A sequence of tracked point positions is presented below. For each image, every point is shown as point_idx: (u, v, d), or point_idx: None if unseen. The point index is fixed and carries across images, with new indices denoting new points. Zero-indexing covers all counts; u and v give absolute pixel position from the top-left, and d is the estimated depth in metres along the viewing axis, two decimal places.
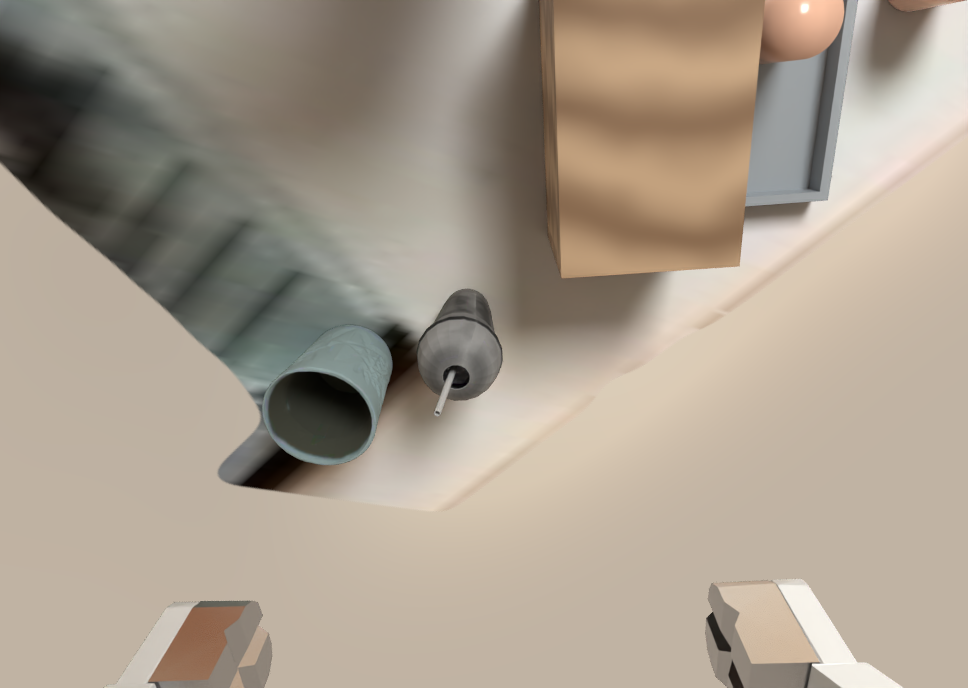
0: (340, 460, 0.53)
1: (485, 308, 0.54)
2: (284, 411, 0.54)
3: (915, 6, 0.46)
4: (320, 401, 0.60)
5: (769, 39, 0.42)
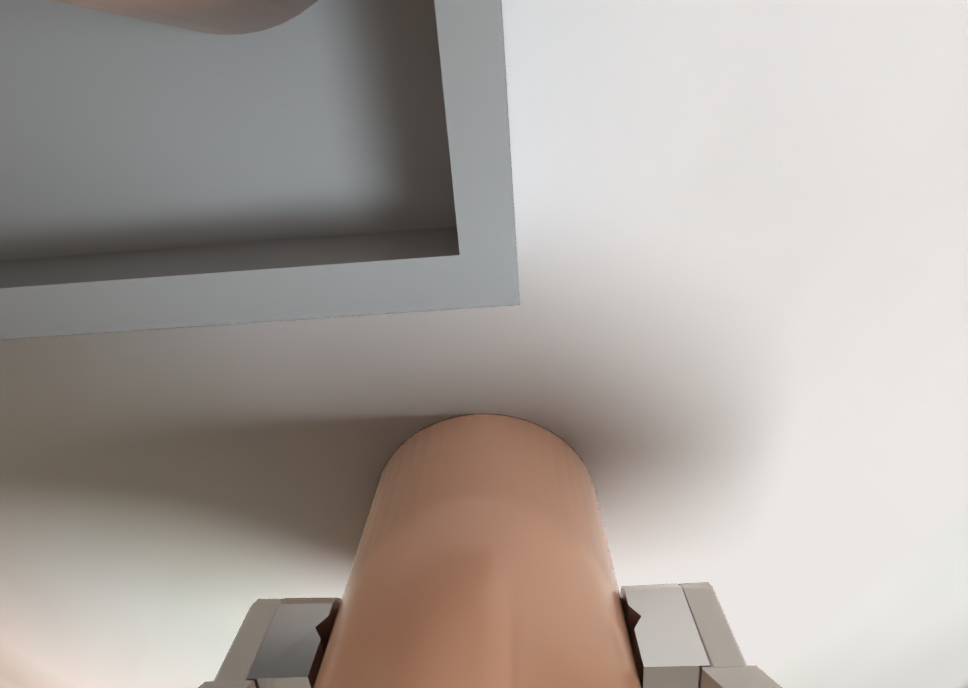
0: None
1: None
2: None
3: (359, 545, 0.11)
4: None
5: None
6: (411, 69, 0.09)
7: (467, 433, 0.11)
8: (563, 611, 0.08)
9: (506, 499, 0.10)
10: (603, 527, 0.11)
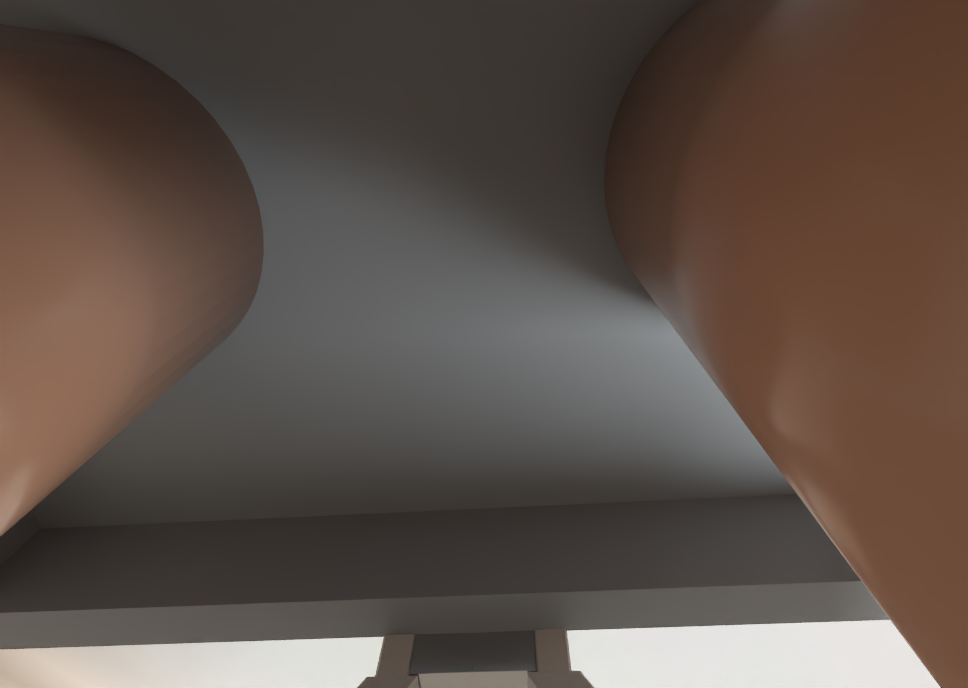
0: None
1: None
2: None
3: None
4: None
5: None
6: None
7: None
8: None
9: None
10: (188, 173, 0.07)
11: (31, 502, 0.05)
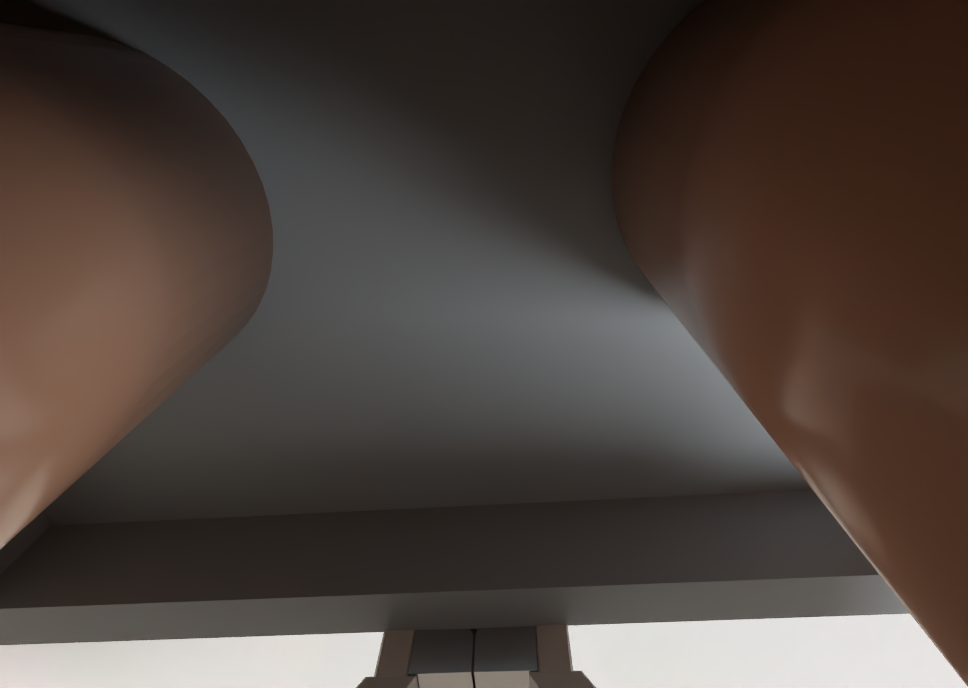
0: None
1: None
2: None
3: None
4: None
5: None
6: None
7: None
8: None
9: None
10: (200, 172, 0.07)
11: (51, 496, 0.05)
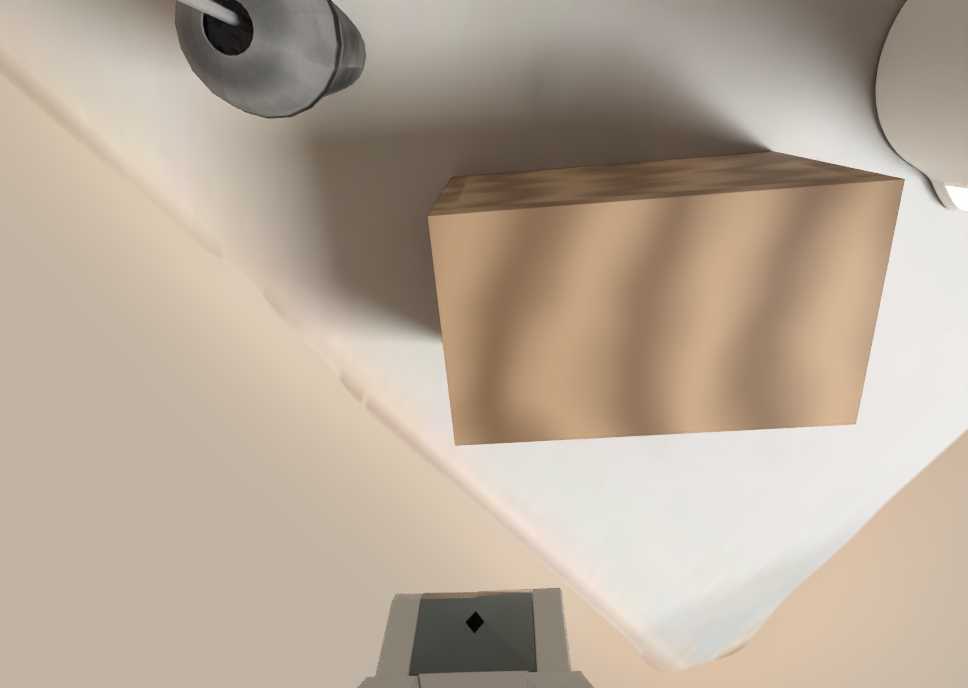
0: None
1: (344, 84, 0.34)
2: None
3: None
4: None
5: None
6: None
7: None
8: None
9: None
10: None
11: None
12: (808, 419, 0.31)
